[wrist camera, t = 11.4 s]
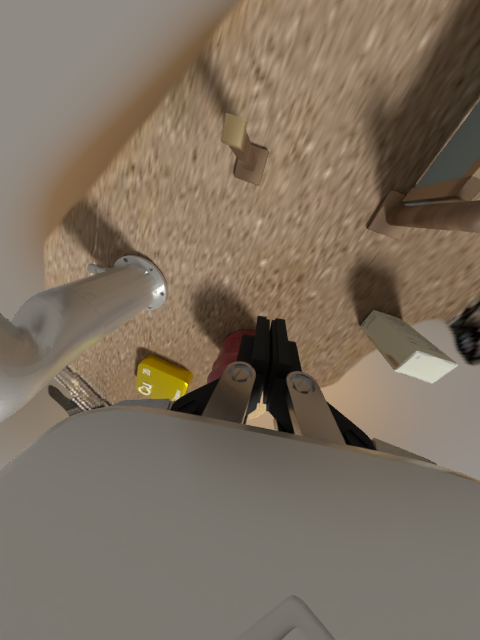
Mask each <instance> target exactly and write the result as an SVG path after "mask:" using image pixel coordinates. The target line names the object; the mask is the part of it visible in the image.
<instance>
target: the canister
mask: <svg viewBox="0 0 480 640" xmlns="http://www.w3.org/2000/svg"><path fill="white" fill-rule="evenodd" d="M243 334H247V335H254V336H255V332H254V331H250V330H240V331H236V332H234V333H232V334H230V335H229V336H228V337H227V338H226V339H225V340H224V342H223V343H222V346H221V348H220V352H219V355H218V357H217V359H216V361H215V362H214V364H213V367H212V371H211V373H210V374H209V376H208V379H207V384H208V383H210V382H212V381H214V380H217V379H219V378H221V377H222V375H223V373H224V371H225V369H226V367H227V366H228V365H229V364H231V363H233V362H236V361H237V356H238V352H239V348H240V344H241V339H242V335H243ZM265 411H266V404H263V392H262V396H261V400H260V403H257V408H256V410H254V411H253V412H252V413H250V414H249V415H248V419H251V418H255V417H258V416H260V415H262V414H263V413H264V412H265ZM248 419H247V420H248Z"/></svg>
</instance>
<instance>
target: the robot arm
mask: <svg viewBox="0 0 480 640" xmlns="http://www.w3.org/2000/svg"><path fill="white" fill-rule="evenodd" d="M87 269H88V271H89V272H91V273H94V274H95V275H92V276H89V277H86V278H82V279H79V280H76V281H73V282H70V283H67V284H64V285H61V286H58V287H54V288H51V289H48V290H45V291H42V292H40V293H37V294H36V295H34V296H32V297H31V298H30V299H28V300H27V301H26V302H25V303H24V304H23V305H22V306H21V307H20V309H19V310H18V311H17V313H16V314H15V316H14V318H13V320H12V321H11V322H10V321H9V320H8V319H6V318H5V317H4V316H3V315H2V314H1V313H0V422H1V421H3V420H4V419H6V418H8V417H9V416H11V415H12V414H13V413H15V412H16V411H17V410H19V409H20V408H21V407H23V406H24V405H25V404H26V403H27V402H29V401H30V400H31V399H32V398H33V397H34V396H35V395H36V394H37V393H38V392H39V391H40V390H41V389H42V388H43V387H44V386H45V385H46V384H47V383H48V382H49V381H50V380H52V379H53V378H54V377H55V376H56V375H57V374H58V373H59V372H60V371H61V370H62V369H63V368H65V367H66V366H67V365H68V364H69V363H70V362H72V361H73V360H74V359H75V358H77V357H78V356H79V355H81V354H82V353H83V352H85V351H86V350H87V349H89V348H90V347H92V346H93V345H94V344H96V343H97V342H99V341H100V340H102V339H103V338H104V337H106V336H107V335H109V334H110V333H112V332H113V331H114V330H116V329H117V328H119V327H120V326H122V325H123V324H124V323H126V322H127V321H129V320H130V319H131V318H133V317H134V316H136V315H137V314H139V313H140V312H141V311H143V310H146V311H152V310H156V309H158V308H159V307H161V306H162V305H163V304H164V302H165V301H166V299H167V294H168V289H167V284H166V281H165V279H164V276H163V275H162V273H161V272H160V270H159V269H158V268H157V267H156V266H155V265H154V264H153V263H152V262H150V261H149V260H147V259H145V258H143V257H141V256H137V255H127V256H124V257H121V258H119V259H118V260H117V261H116V262H115V263H114V266H113V267H112V268H108V267H105V268H103V267H101V266H98V265H95V264H92V263H91V264H89V265H88V267H87ZM262 392H263V404H266V411H269V412H270V413H271V415H272V416H273V417H274V429H275V430H270V429H265V428H260V427H255V426H250V425H246V422H247V419H248V415H249V414H250V413H252V412H253V411H254V410H256V408H257V403H260V400H261V396H262ZM0 640H480V480H477V479H475V478H473V477H470V476H468V475H466V474H463V473H460V472H457V471H454V470H451V469H448V468H445V467H442V466H439V465H437V464H436V463H434V462H432V461H430V460H428V459H426V458H424V457H421V456H418V455H416V454H413V453H411V452H408V451H406V450H403V449H401V448H399V447H396V446H393V445H391V444H388V443H386V442H383V441H381V440H378V439H375V438H373V439H372V440H371V439H370V438H369V437H368V436H367V435H366V434H365V433H364V432H363V431H362V430H361V429H359V428H358V427H357V426H356V425H355V424H353V423H352V422H351V421H350V420H348V419H347V418H346V417H345V416H344V415H342V414H341V413H340V412H339V411H338V410H336V409H335V408H334V407H333V406H332V405H330V404H329V403H328V402H327V401H326V400H325V398H324V396H323V393H322V391H321V389H320V387H319V385H318V383H317V382H316V380H315V379H314V378H313V377H312V376H310V375H308V374H306V373H304V372H302V370H301V365H300V360H299V355H298V351H297V346H296V342H292V341H288V337H287V330H286V324H285V320H284V319H277V318H276V319H275V320H272V322H271V327H270V320H268V319H266V317H263V316H258V318H257V324H256V330H255V336H254V335H247V334H243V335H242V339H241V344H240V348H239V352H238V356H237V361H236V362H233V363H231V364H229V365H228V366H227V367H226V369H225V371H224V373H223V375H222V377H221V378H219V379H217V380H214V381H212V382H210V383H208V384H206V385H204V386H202V387H200V388H198V389H196V390H194V391H192V392H190V393H188V394H186V395H184V396H182V397H180V398H179V399H177V400H176V401H170V399H140V400H124V401H120V402H118V403H116V404H114V405H112V406H110V407H103V408H97V409H92V410H88V411H84V412H81V413H78V414H75V415H73V416H70V417H68V418H66V419H64V420H63V421H61V422H60V423H58V424H56V425H54V426H53V427H52V428H50V429H49V430H48V431H46V432H45V433H44V434H42V435H41V436H40V437H39V438H37V439H36V440H35V441H34V442H32V443H31V444H30V445H29V446H28V447H27V448H25V449H24V450H23V451H22V452H21V453H20V454H18V455H17V456H16V457H15V458H14V459H13V460H12V461H10V462H9V463H8V464H7V465H6V466H5V467H4V468H3V469H2V470H0Z"/></svg>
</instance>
